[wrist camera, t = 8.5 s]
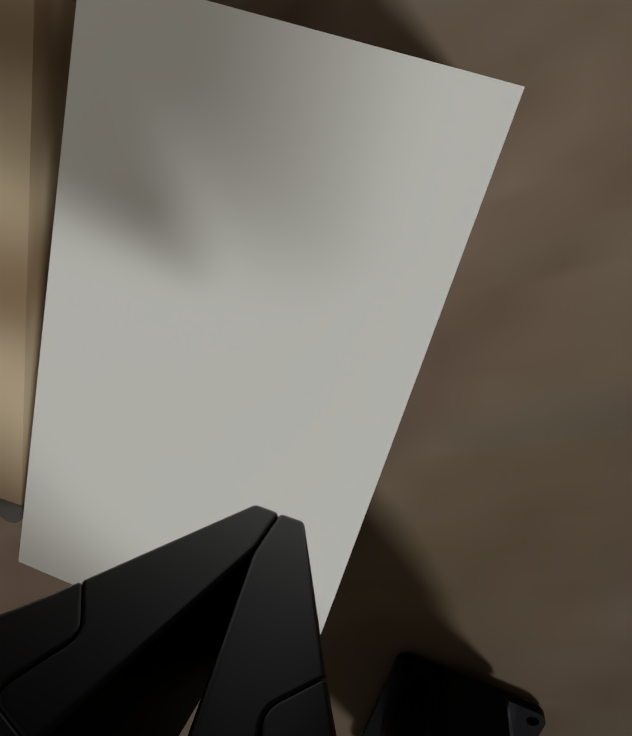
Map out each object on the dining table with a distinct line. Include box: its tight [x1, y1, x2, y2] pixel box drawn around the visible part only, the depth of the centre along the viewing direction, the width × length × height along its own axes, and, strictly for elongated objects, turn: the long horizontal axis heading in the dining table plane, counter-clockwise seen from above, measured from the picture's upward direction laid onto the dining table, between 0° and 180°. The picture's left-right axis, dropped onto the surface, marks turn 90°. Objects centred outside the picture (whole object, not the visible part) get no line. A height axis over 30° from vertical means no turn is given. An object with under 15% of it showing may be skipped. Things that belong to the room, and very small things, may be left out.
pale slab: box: [19, 0, 524, 635], centre depth 18 cm, size 17×10×7 cm, turn 164°
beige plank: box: [0, 0, 76, 523], centre depth 19 cm, size 16×1×6 cm, turn 168°
